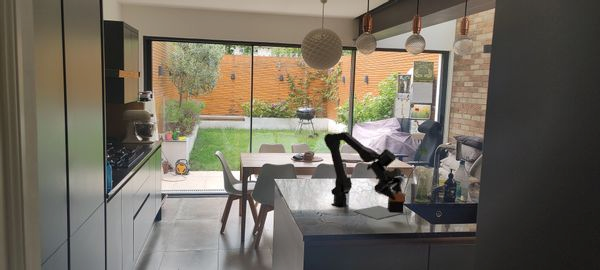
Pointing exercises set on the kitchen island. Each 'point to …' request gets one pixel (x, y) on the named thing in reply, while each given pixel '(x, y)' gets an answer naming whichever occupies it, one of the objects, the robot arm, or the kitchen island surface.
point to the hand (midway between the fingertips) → (398, 198)
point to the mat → (376, 212)
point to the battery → (396, 203)
